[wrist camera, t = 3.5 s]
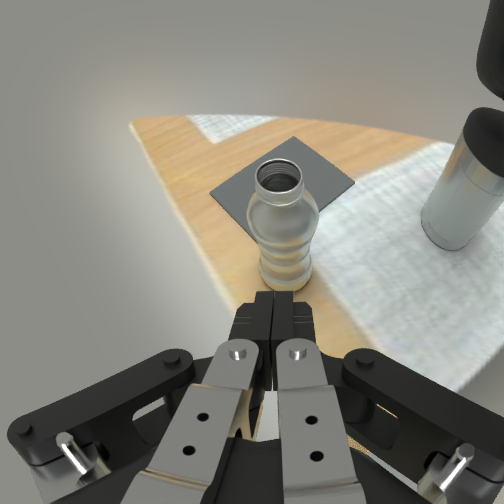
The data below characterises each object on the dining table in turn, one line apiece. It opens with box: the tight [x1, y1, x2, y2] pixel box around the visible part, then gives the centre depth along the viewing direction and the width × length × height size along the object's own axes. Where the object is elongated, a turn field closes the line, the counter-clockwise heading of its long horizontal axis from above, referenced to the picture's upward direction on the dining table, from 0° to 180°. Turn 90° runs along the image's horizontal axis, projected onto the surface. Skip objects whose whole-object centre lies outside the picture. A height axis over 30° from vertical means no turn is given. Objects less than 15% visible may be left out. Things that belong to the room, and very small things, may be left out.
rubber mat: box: [209, 136, 355, 244], centre depth 47 cm, size 18×14×1 cm
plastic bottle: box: [247, 158, 319, 292], centre depth 32 cm, size 6×7×20 cm
